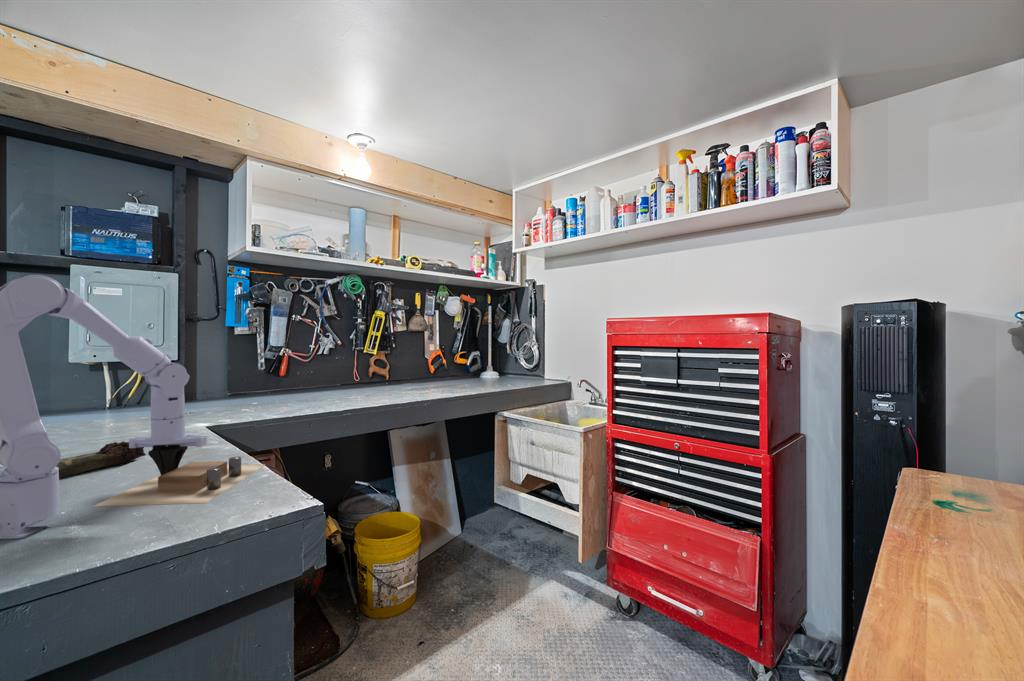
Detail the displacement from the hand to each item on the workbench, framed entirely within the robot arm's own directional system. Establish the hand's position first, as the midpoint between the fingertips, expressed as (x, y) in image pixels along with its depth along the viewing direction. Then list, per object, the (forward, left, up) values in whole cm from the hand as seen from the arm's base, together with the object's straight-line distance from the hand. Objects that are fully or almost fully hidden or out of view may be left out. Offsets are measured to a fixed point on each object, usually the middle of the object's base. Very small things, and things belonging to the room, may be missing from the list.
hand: (169, 479), depth 93 cm
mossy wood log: (+17, +28, -3) cm, 33 cm away
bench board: (0, -4, -2) cm, 5 cm away
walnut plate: (0, -5, -1) cm, 5 cm away
